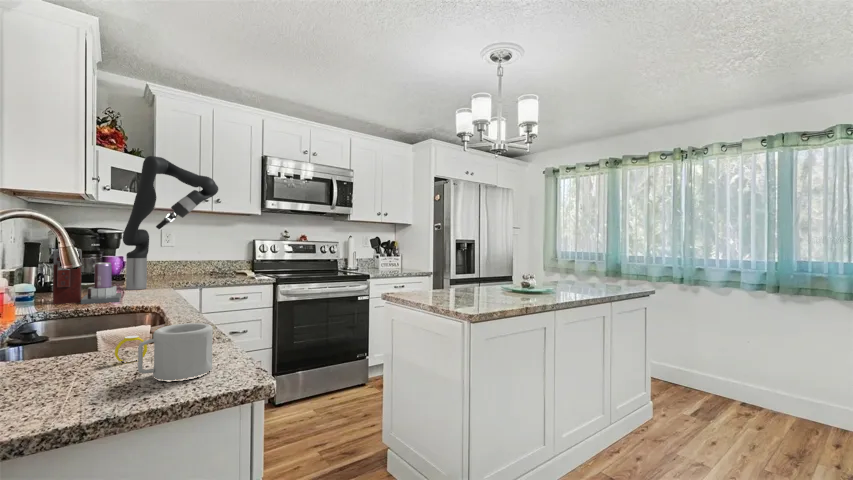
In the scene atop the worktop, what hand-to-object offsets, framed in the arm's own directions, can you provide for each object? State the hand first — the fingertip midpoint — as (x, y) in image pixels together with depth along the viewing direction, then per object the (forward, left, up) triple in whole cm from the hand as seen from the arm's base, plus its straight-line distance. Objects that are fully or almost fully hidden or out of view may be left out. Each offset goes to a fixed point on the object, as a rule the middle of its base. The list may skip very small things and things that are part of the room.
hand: (157, 228), depth 200 cm
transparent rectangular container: (+11, -21, -34) cm, 41 cm away
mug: (+144, 0, -34) cm, 148 cm away
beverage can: (+11, -20, -32) cm, 39 cm away
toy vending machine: (+11, -32, -34) cm, 48 cm away
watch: (+127, -8, -34) cm, 132 cm away
